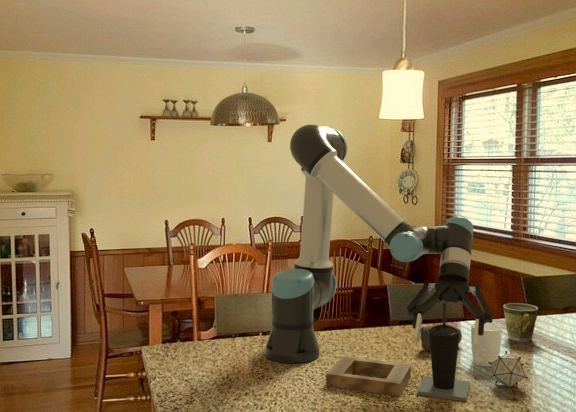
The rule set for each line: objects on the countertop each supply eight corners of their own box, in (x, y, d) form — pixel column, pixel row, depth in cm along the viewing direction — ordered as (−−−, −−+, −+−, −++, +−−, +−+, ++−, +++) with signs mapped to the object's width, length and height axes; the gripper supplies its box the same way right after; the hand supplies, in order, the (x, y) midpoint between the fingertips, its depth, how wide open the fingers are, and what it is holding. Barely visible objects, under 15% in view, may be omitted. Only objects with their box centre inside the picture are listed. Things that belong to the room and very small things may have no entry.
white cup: (502, 368, 158) (503, 331, 158) (471, 366, 160) (472, 329, 159) (498, 359, 166) (499, 323, 165) (468, 357, 168) (469, 322, 167)
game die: (502, 398, 148) (498, 358, 154) (535, 393, 143) (530, 353, 148) (484, 387, 143) (481, 347, 148) (518, 383, 138) (514, 341, 143)
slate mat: (417, 394, 141) (417, 391, 141) (424, 378, 151) (424, 375, 151) (466, 401, 137) (466, 398, 137) (470, 384, 147) (470, 381, 147)
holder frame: (326, 385, 146) (326, 373, 146) (342, 367, 159) (342, 356, 159) (400, 396, 140) (400, 383, 139) (410, 376, 153) (410, 364, 152)
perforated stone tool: (456, 343, 180) (456, 321, 180) (467, 348, 176) (468, 325, 175) (413, 349, 175) (414, 326, 174) (424, 354, 170) (424, 330, 169)
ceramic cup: (498, 333, 191) (499, 302, 190) (530, 334, 190) (531, 303, 189) (511, 346, 178) (512, 313, 177) (546, 346, 177) (547, 313, 177)
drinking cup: (437, 393, 139) (437, 308, 138) (421, 381, 147) (422, 301, 145) (466, 389, 141) (467, 306, 139) (449, 378, 149) (450, 298, 147)
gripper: (505, 281, 153) (501, 357, 140) (407, 274, 162) (395, 344, 150) (505, 264, 148) (500, 341, 135) (404, 257, 157) (390, 329, 144)
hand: (445, 343), depth 142 cm, fingers open, 13 cm apart
